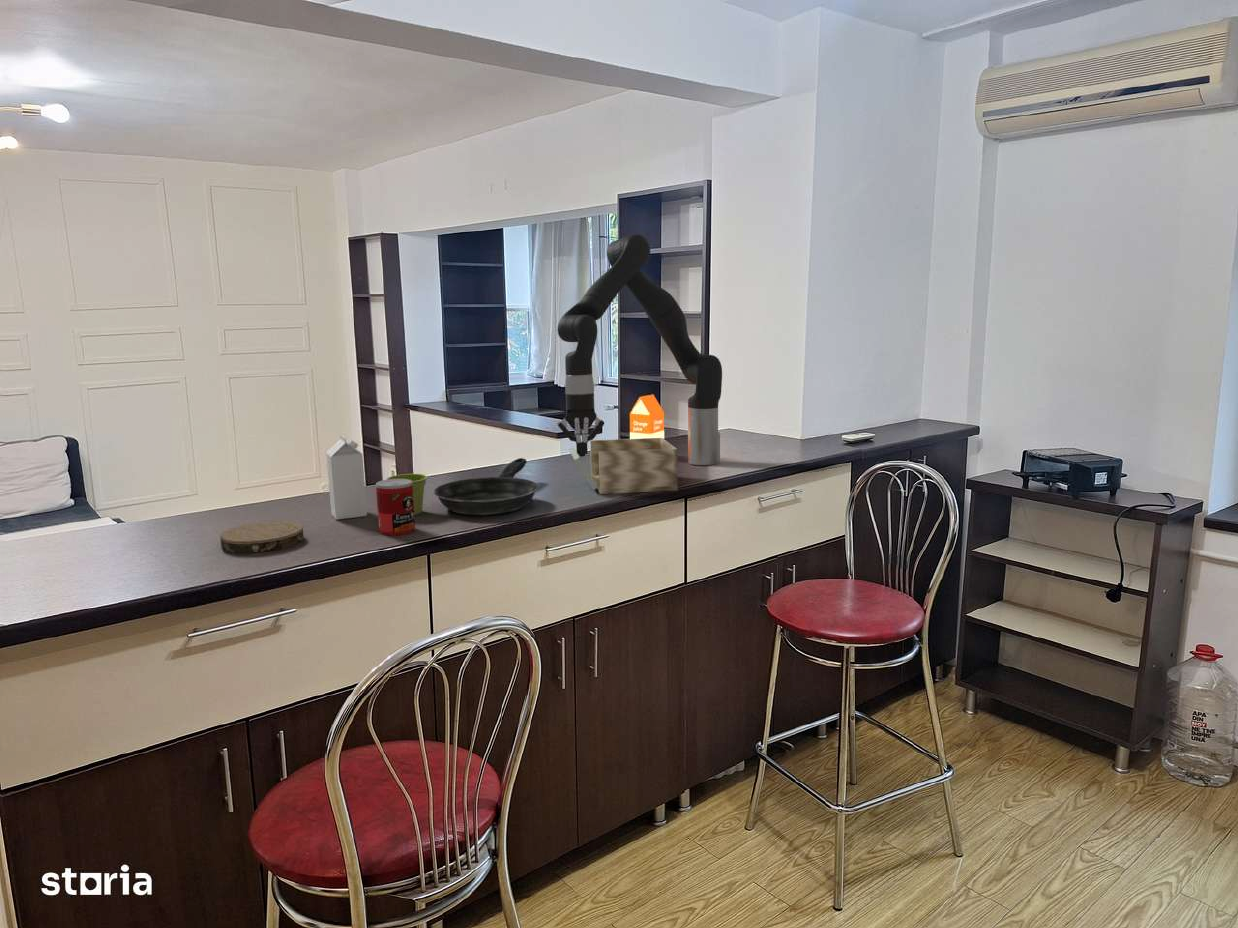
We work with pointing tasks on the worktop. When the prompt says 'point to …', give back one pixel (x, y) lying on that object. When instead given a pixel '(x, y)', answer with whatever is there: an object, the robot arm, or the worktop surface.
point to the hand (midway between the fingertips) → (582, 455)
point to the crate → (633, 465)
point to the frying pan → (488, 492)
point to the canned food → (395, 506)
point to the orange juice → (647, 419)
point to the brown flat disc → (261, 537)
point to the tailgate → (583, 468)
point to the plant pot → (415, 488)
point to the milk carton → (346, 480)
